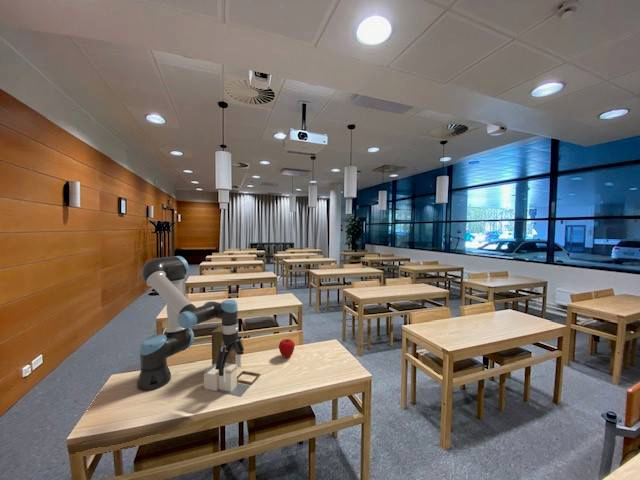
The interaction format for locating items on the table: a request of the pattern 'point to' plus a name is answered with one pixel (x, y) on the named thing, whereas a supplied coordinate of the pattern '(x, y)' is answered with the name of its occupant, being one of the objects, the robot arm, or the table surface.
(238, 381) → the tray
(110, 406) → the table surface
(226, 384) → the stub
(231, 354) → the book
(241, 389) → the board
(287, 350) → the apple
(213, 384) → the pad
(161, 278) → the robot arm
